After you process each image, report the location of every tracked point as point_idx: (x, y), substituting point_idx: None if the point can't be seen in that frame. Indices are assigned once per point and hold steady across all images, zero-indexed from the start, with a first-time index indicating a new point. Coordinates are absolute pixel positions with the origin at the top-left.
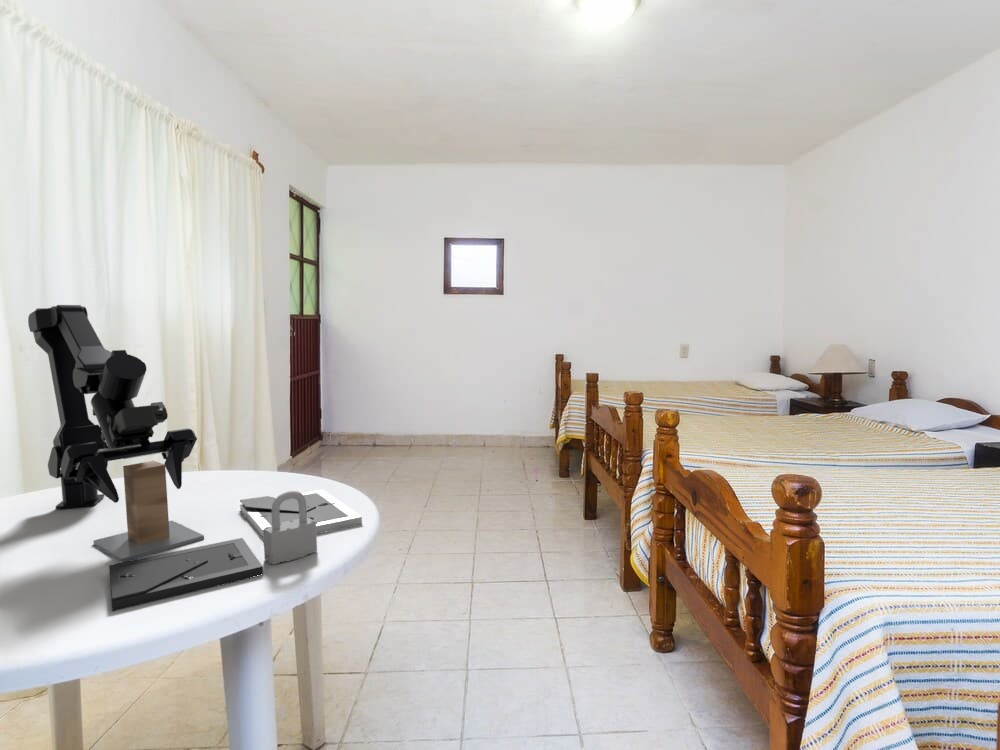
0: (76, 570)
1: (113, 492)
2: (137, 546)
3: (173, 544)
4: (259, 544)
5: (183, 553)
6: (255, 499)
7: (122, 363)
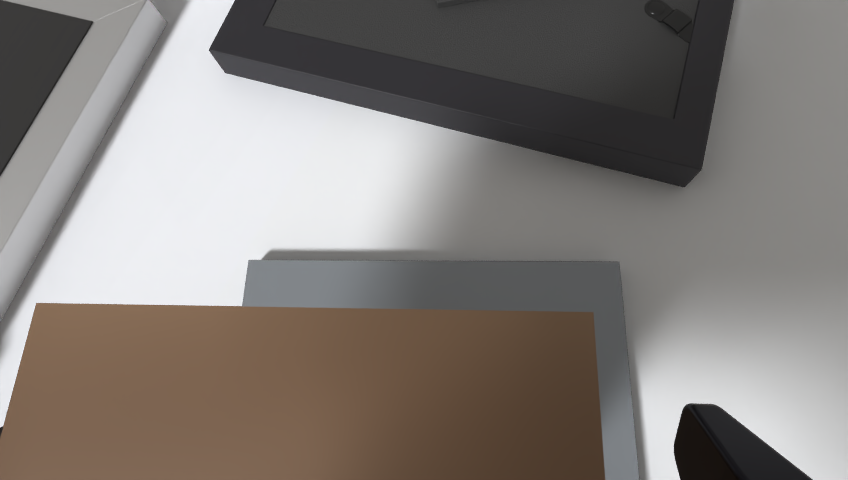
0: (792, 342)
1: (767, 453)
2: None
3: (389, 261)
4: (183, 41)
5: (436, 66)
6: None
7: None
